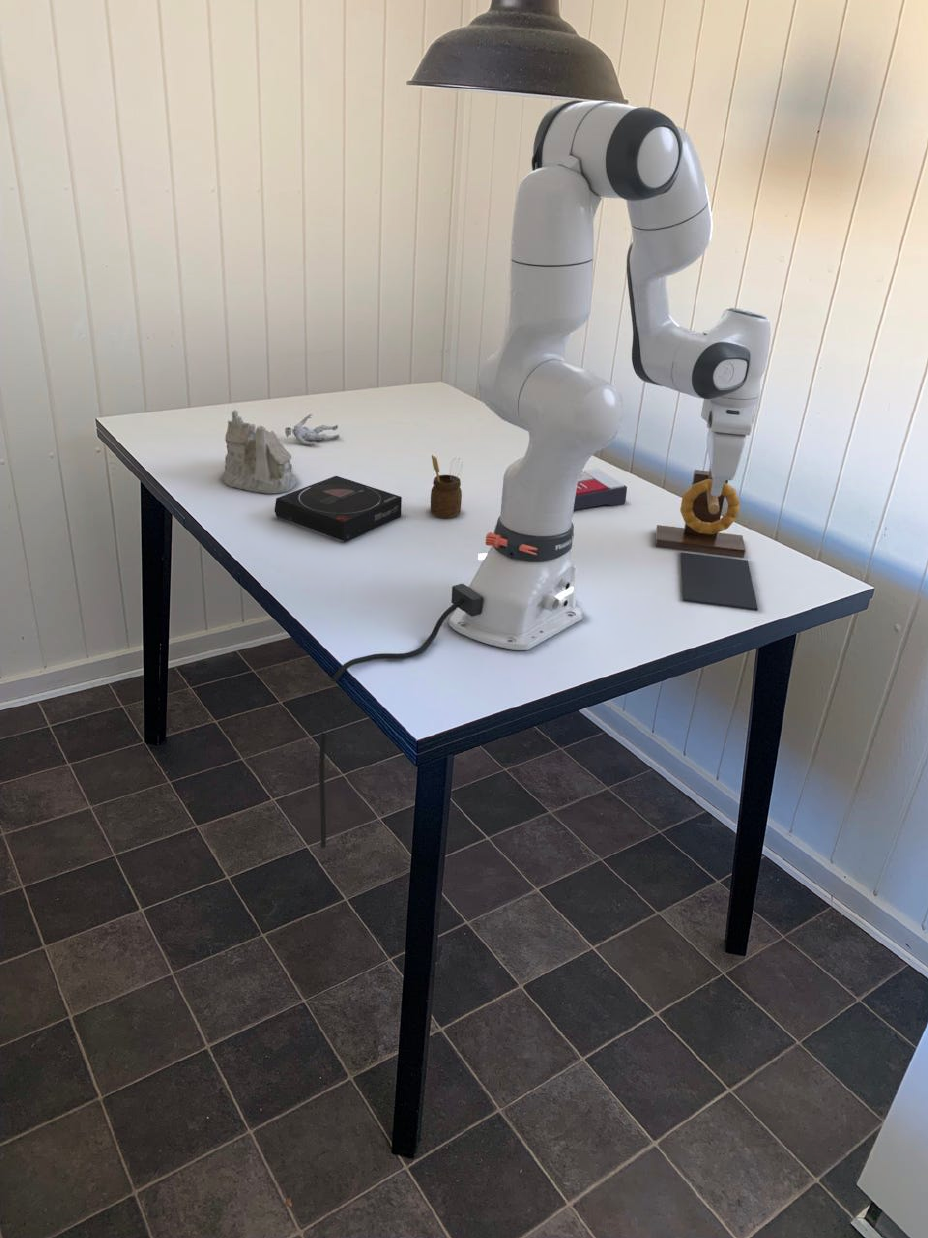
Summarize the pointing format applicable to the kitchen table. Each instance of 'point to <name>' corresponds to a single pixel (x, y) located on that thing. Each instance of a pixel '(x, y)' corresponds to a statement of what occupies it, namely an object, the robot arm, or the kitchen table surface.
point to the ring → (706, 526)
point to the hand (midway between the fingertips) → (714, 486)
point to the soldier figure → (310, 432)
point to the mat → (717, 581)
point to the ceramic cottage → (256, 459)
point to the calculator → (598, 490)
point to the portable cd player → (338, 508)
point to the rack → (690, 540)
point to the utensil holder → (446, 494)
